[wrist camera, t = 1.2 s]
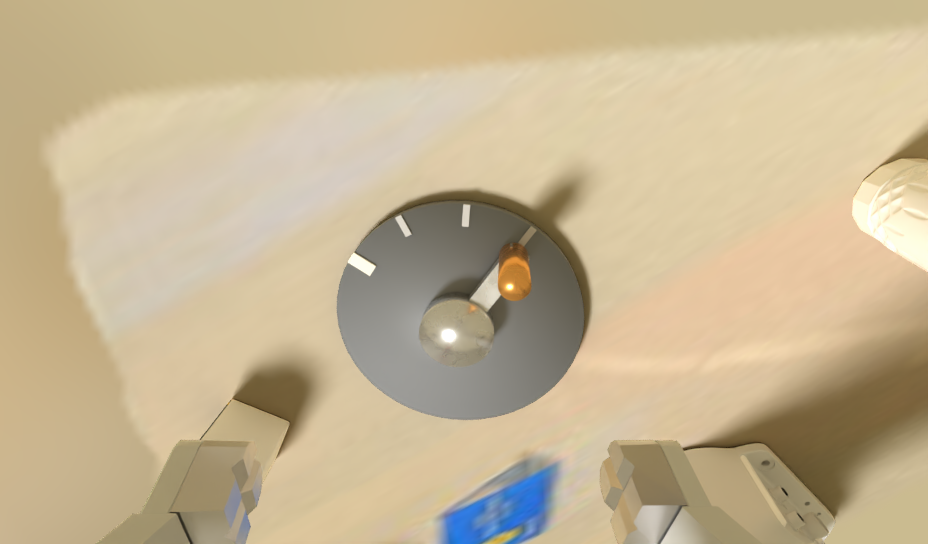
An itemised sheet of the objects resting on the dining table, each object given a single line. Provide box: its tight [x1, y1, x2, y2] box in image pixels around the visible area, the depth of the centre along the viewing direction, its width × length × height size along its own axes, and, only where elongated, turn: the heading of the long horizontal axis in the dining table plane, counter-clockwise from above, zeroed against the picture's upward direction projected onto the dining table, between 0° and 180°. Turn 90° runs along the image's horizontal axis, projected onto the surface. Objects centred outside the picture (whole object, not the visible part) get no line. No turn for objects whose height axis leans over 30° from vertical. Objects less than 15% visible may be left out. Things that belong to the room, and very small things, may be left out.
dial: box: [419, 243, 531, 367], centre depth 43 cm, size 14×7×6 cm, turn 146°
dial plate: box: [337, 200, 584, 420], centre depth 48 cm, size 24×24×1 cm
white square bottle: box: [200, 399, 290, 483], centre depth 51 cm, size 7×7×12 cm
